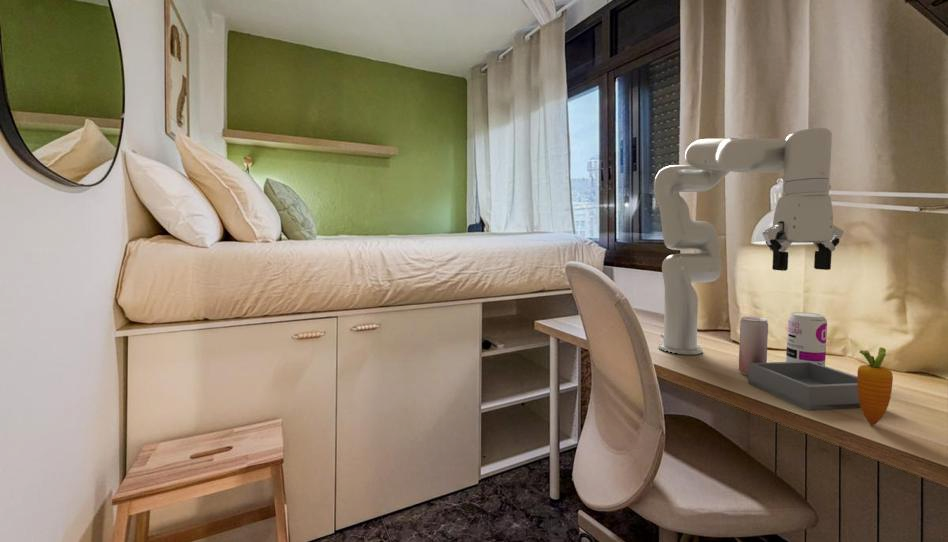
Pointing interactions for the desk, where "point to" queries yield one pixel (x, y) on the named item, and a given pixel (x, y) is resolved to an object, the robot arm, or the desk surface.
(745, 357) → the beverage can
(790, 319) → the supplement can
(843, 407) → the tray
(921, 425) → the desk surface
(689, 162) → the robot arm
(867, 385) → the carrot
